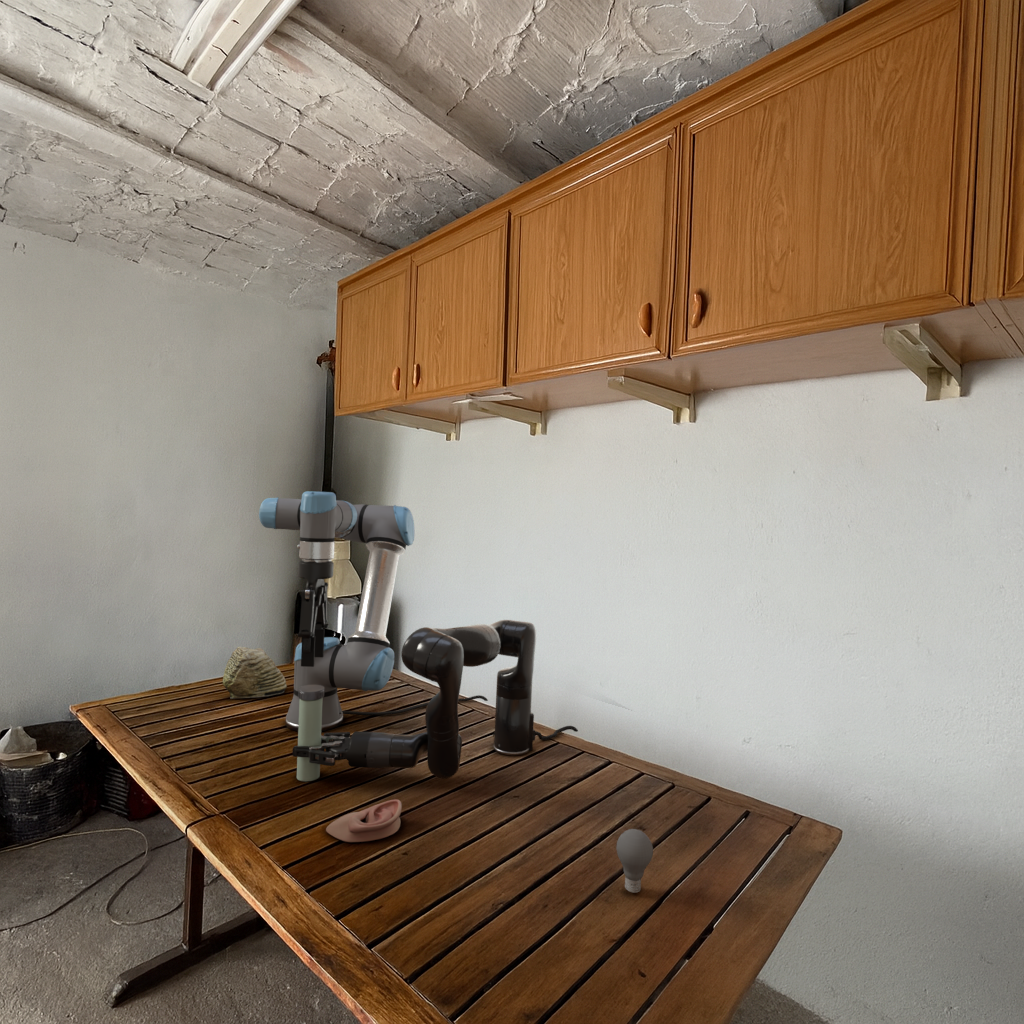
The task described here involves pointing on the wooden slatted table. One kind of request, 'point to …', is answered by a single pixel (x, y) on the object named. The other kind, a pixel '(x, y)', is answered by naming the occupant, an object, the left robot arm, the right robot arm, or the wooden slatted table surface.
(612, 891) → the wooden slatted table surface
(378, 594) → the left robot arm
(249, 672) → the fossil
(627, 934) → the wooden slatted table surface
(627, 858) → the light bulb
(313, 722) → the pale green cylinder
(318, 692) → the lid
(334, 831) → the anatomical model
